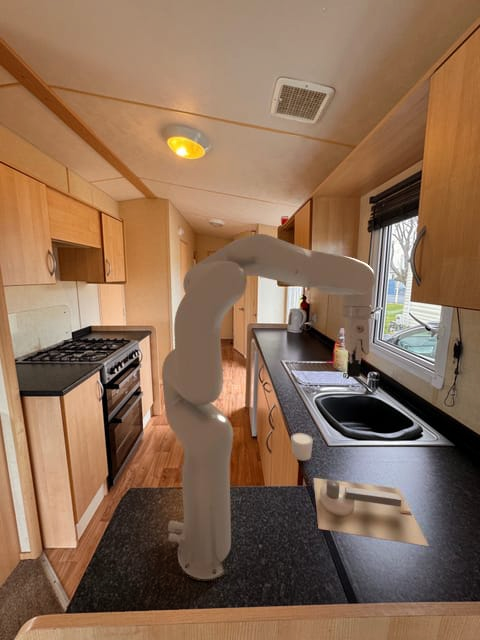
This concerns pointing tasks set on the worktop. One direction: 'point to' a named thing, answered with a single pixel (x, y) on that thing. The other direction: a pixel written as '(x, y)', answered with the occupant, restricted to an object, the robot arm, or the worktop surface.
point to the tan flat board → (371, 517)
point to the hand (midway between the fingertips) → (353, 375)
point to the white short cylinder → (301, 446)
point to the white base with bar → (352, 498)
